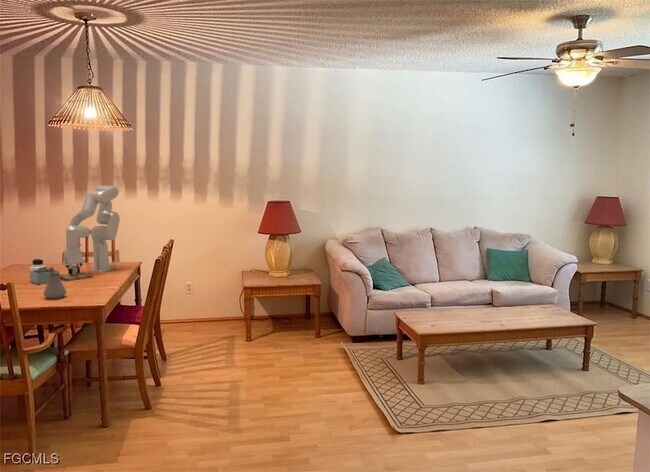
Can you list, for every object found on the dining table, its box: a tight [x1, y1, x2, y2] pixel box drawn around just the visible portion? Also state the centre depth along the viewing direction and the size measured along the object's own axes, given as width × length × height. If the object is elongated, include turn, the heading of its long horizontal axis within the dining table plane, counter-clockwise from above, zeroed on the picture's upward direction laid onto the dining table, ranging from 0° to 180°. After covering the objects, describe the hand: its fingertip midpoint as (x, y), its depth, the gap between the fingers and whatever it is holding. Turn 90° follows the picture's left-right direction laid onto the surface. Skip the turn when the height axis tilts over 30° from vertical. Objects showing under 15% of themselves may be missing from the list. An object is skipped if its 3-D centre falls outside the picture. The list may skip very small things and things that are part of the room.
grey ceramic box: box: [29, 267, 60, 286], centre depth 335 cm, size 13×13×7 cm
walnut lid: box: [60, 265, 92, 282], centre depth 348 cm, size 16×16×7 cm
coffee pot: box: [43, 266, 67, 300], centre depth 300 cm, size 21×12×15 cm, turn 32°
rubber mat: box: [60, 276, 96, 282], centre depth 349 cm, size 19×19×1 cm
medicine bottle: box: [29, 258, 48, 272], centre depth 349 cm, size 7×7×12 cm
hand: (74, 273), depth 348 cm, fingers closed on walnut lid, 4 cm apart
